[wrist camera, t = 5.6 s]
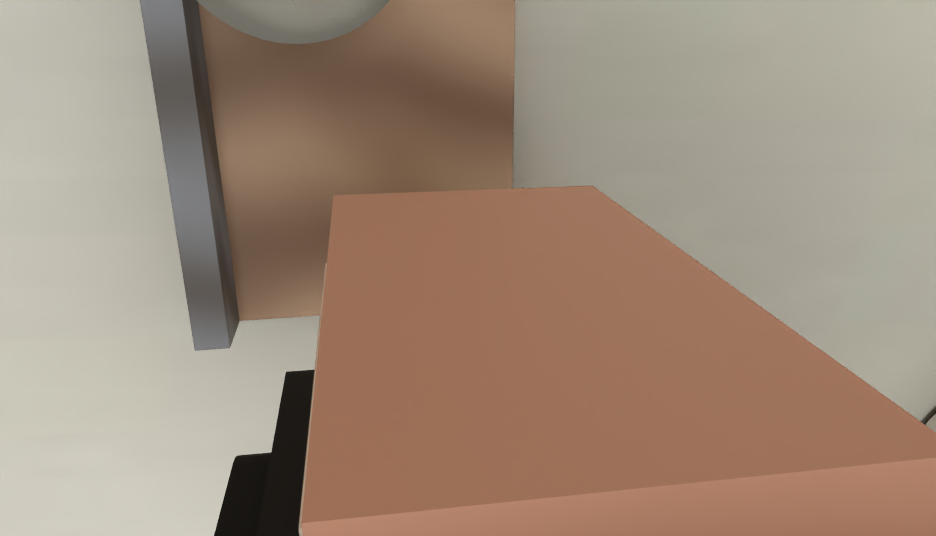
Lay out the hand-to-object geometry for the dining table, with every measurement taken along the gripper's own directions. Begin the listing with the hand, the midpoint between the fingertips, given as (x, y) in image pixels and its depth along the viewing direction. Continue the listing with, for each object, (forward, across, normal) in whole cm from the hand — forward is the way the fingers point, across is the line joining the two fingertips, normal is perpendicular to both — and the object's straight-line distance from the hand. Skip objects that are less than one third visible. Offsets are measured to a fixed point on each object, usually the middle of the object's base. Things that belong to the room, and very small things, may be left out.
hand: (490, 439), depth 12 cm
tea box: (+3, 0, 0) cm, 3 cm away
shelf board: (+17, +2, -4) cm, 18 cm away
